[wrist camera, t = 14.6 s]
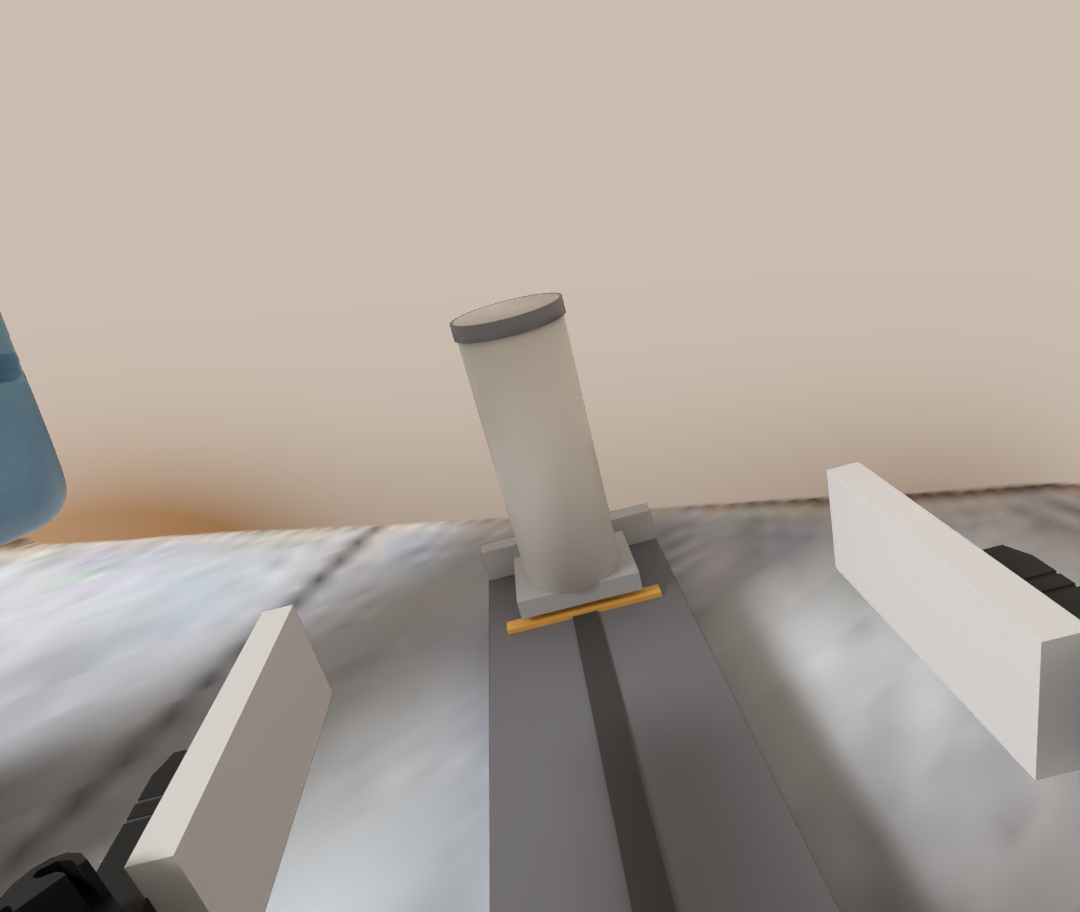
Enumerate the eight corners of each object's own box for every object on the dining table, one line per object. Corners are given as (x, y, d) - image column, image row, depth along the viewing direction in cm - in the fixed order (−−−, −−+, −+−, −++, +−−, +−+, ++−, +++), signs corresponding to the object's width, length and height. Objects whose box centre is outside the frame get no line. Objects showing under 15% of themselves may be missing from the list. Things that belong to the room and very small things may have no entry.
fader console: (946, 1195, 12) (940, 1071, 11) (526, 1291, 13) (466, 1182, 11) (660, 574, 33) (646, 503, 31) (502, 614, 33) (480, 545, 32)
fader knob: (644, 592, 27) (579, 299, 22) (522, 623, 27) (434, 337, 23) (624, 542, 31) (566, 284, 26) (518, 569, 31) (442, 316, 26)
